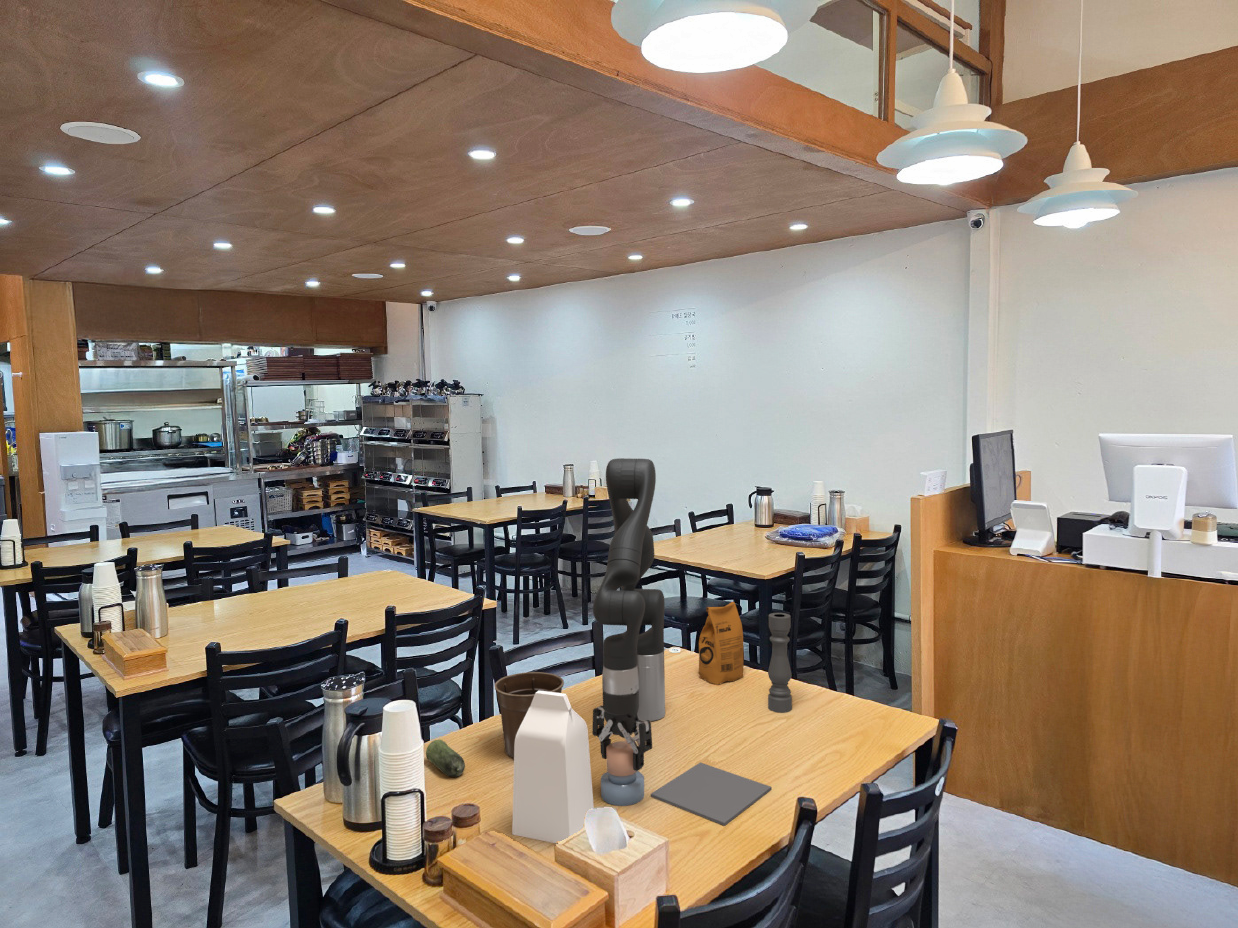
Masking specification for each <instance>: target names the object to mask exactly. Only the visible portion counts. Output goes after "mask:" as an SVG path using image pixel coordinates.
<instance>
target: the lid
mask: <svg viewBox="0 0 1238 928" xmlns="http://www.w3.org/2000/svg"><path fill="white" fill-rule="evenodd" d="M633 753H634V751H633V749H632V747H631V745H630V744H628V743H627V741H626V740H625V741H624V740H623V741H622V740H619V741H614V742H611V744H609V745H608V746H607V748H606V754H607V759H606V772H608V773H610V774H611V775H614V776H629V775H632V774H634V773H636V772H637V771H635V770H633Z"/></svg>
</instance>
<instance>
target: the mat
mask: <svg viewBox="0 0 1238 928" xmlns="http://www.w3.org/2000/svg"><path fill="white" fill-rule="evenodd" d="M771 791H772V786H770V785H767V784H765V783H762V782H758V781H755V780H753V779H750V778H747V777H744V776H742V775H738V774H736V773H733V772H731V771H726V770H724V769H721V768H717V767H715V766H712V765H709V764H706V763H703V762H701V761H700V762H698V763H697V764H695V765H694V766H692V767H691V768H688V769H687V770H686V771H683V772H682V773H681V774H680V775H678V776H676V777H675V778H673V779H672V780H670V781H668V782H666V783H665V784H664V785H662V786H661V787H659V788H657V789H655V790H654V791H653V792H651V793H650V797H651V798H652V799H656V800H659V801H661V802H663V803H666V804H668V805H670V806H673V807H676V808H678V809H681V810H682V811H685V812H689V813H690V814H694V815H695V816H699V817H701V818H703V819H706V820H709V821H711V822H713V823H716V824H719V825H720V826H721V825H722V826H723V827H724V826H727V825H728V824H729V823H731V822H732V821H733V820H734V819H736V818H737V817H738V816H740V814H742V813H743V812H744V811H746V810H747V809H748V808H750V807H751V806H753V805H754V804H756V802H758V801H759V800H761V798H762V797H764V796H766V795H767V794H768V793H769V792H771Z"/></svg>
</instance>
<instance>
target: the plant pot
mask: <svg viewBox="0 0 1238 928" xmlns="http://www.w3.org/2000/svg"><path fill="white" fill-rule="evenodd" d="M564 685H565V681H564V679H563V678H562V677H561V676H559V675H557V674H554V673H550V672H543V671H541V672H539V671H527V672H517V673H514V674H510V675H506V676H504V677H500V679H498V680H497V681H496V682H495V683H494V690H495V691H496V695H497V703H498V705H499V707H500V708H499V709H500V718H501V725H502V734H503V744H504V745H503V747H504V752H505V754H506V755H507V756H508V757H511V758H512V759H514V744H515V737H516V734H517V732H518V729H519V727H520V725H521V723H522V721H523V719H524V717H525V715H526V713H527V711H528V709H529V707H530V706H531V703H532V700H533V698H534V695H535V693H536V692H537V691H547V692H555V693H562V690H563V689H562V688H563V687H564Z"/></svg>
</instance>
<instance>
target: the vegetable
mask: <svg viewBox="0 0 1238 928" xmlns="http://www.w3.org/2000/svg"><path fill="white" fill-rule="evenodd" d="M425 750H426V751H425V756H426V759H427V760H428V761H429V762H431V764H433V765H434V766H435V767H436V768H438V769H439V770H440V771H441V773H443V774H445V775H446V776H448V777H453V778H455V777H459V776H461V775H462V774H463V773H464V771H465V767H466V764H465V760H464V758H463V756H462V755H460V754H459V753H458V752H456V751H455V750H454V749H452V748H451V747H450V746H449V745H448V744H447V743H446V742H445V740H443V739H435V740H433V741H431V742H430V743H429V744H428V745H427V747H426V749H425Z"/></svg>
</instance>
